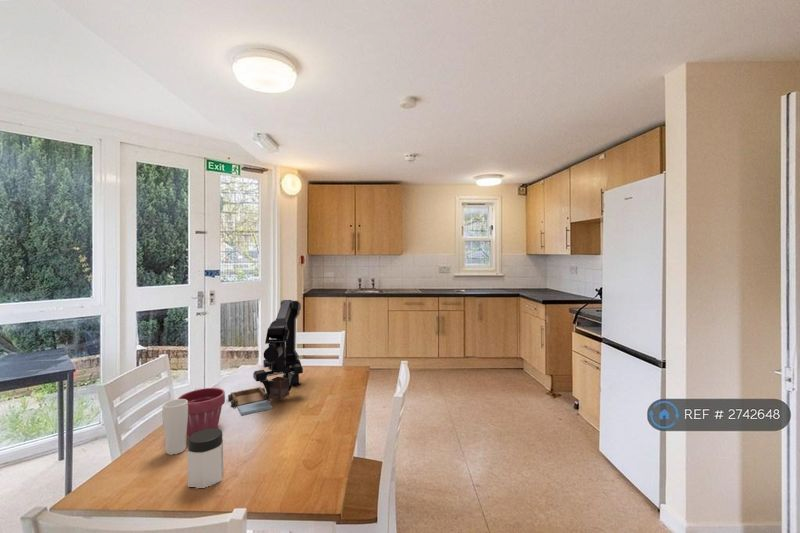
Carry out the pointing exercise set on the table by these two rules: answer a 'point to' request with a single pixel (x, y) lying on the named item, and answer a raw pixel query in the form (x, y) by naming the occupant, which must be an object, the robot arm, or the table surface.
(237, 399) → the bed
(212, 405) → the plant pot
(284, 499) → the table surface
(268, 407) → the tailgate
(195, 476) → the jar
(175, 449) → the drinking glass
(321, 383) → the table surface
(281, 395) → the box
